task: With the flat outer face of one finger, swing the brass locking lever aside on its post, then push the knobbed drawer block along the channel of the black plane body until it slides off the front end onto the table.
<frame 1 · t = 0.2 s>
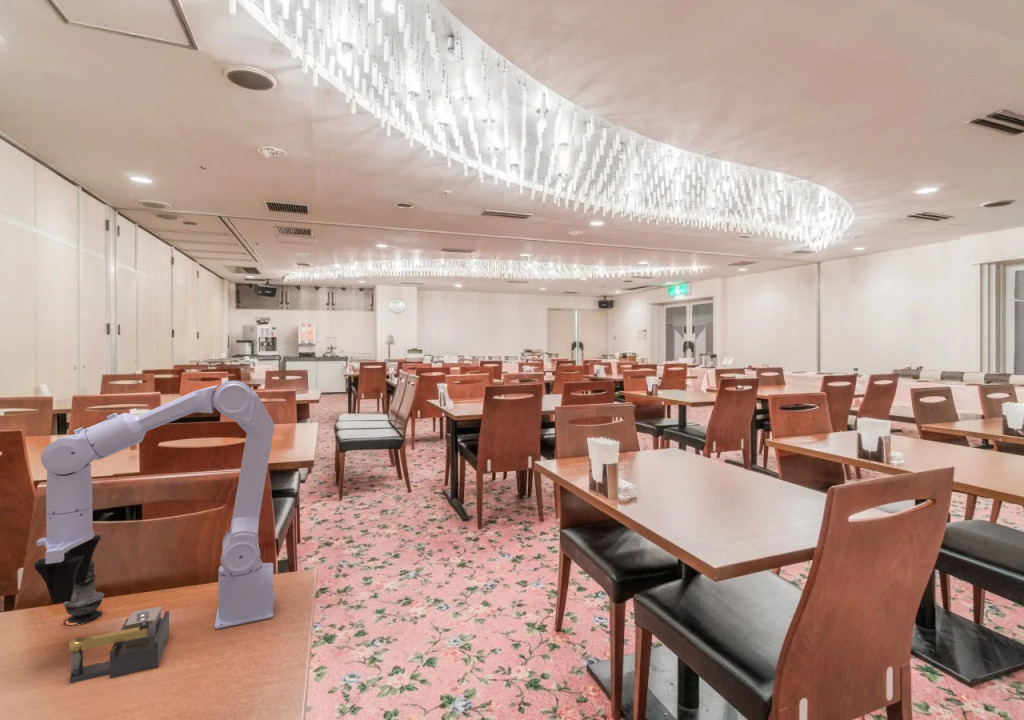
hand: (70, 591, 83), 10 cm above the table, fingers open, 7 cm apart
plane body: (141, 654, 82), on the table
lever: (110, 635, 78), point 5 cm above the table, hinge at 0.0°
salt shaker: (84, 619, 94), on the table
knobbed drawer block: (143, 631, 83), point 3 cm above the table, touching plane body
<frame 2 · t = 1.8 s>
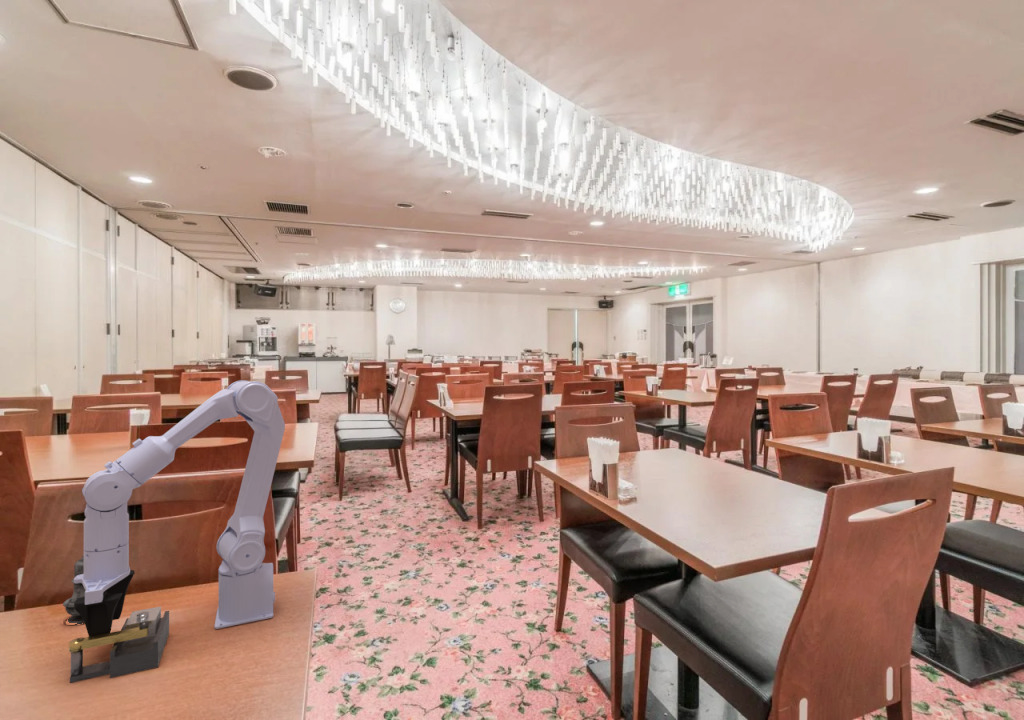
hand: (106, 629, 81), 4 cm above the table, fingers open, 7 cm apart
lever: (110, 635, 78), point 5 cm above the table, hinge at 0.0°, touching gripper
everything else where it was.
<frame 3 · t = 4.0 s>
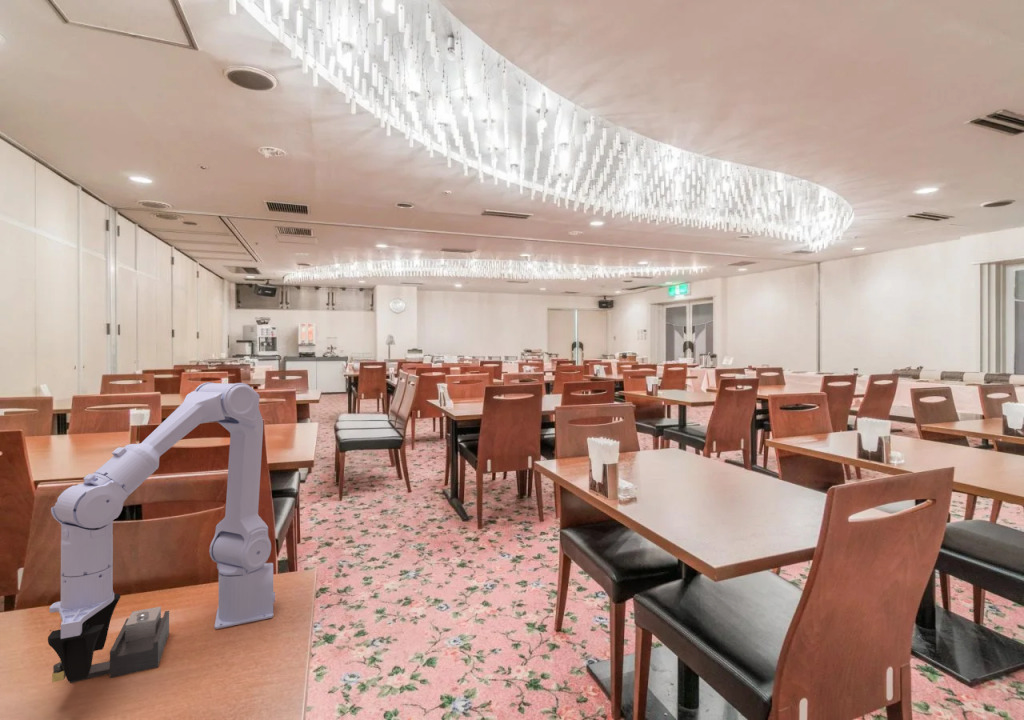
hand: (86, 663, 72), 4 cm above the table, fingers open, 7 cm apart
lever: (68, 655, 72), point 5 cm above the table, hinge at -88.6°
everything else where it was.
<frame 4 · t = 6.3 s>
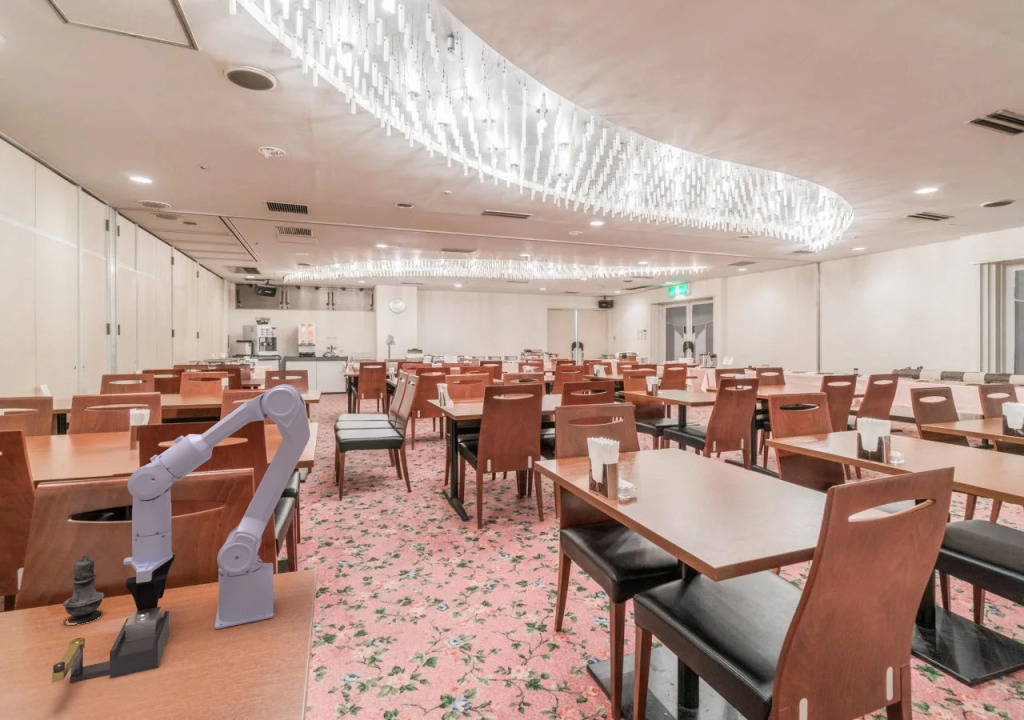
hand: (151, 607, 90), 4 cm above the table, fingers open, 7 cm apart
knobbed drawer block: (143, 631, 83), point 3 cm above the table, touching gripper
everything else where it was.
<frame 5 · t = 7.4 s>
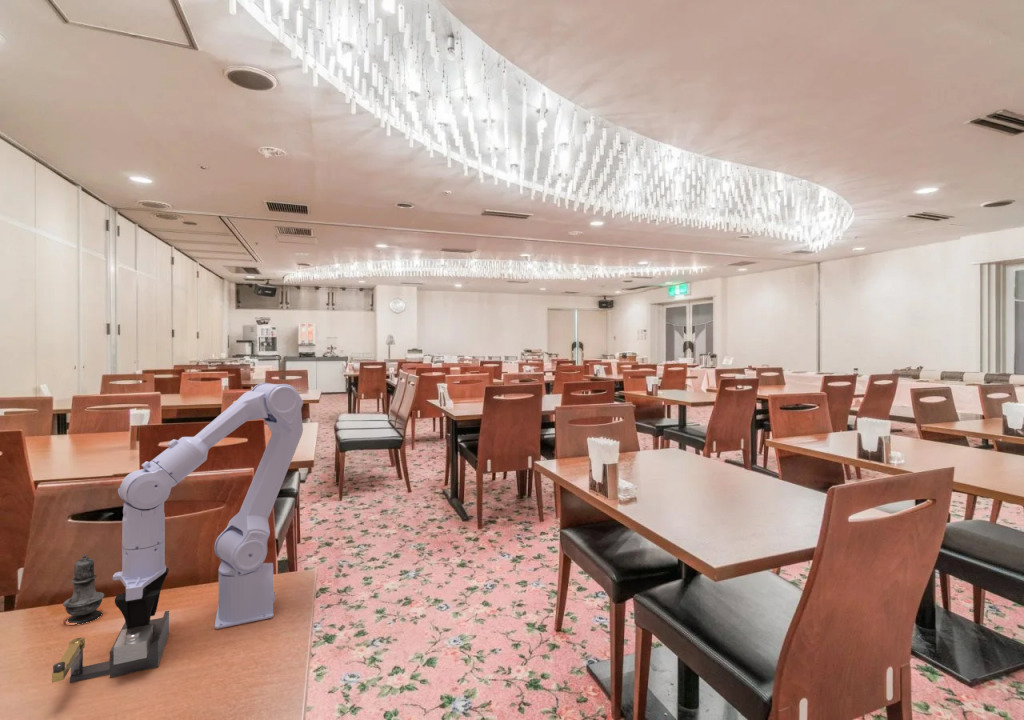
hand: (143, 625, 83), 4 cm above the table, fingers open, 6 cm apart
knobbed drawer block: (134, 651, 77), point 3 cm above the table, touching gripper, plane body
everything else where it was.
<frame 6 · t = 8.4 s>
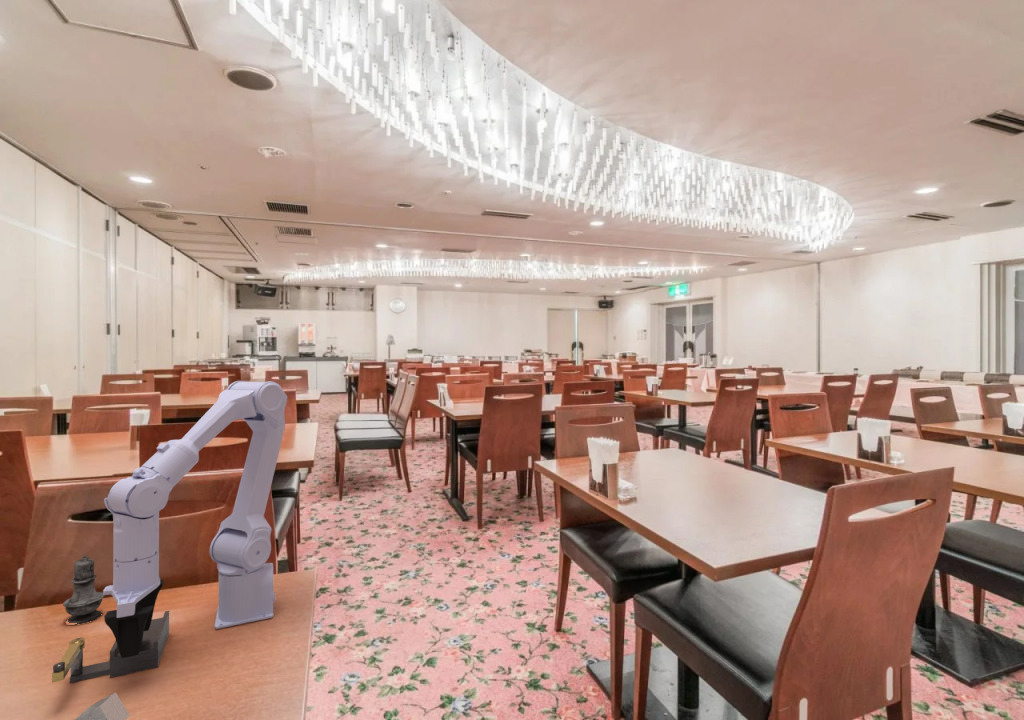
hand: (136, 642, 78), 4 cm above the table, fingers open, 7 cm apart
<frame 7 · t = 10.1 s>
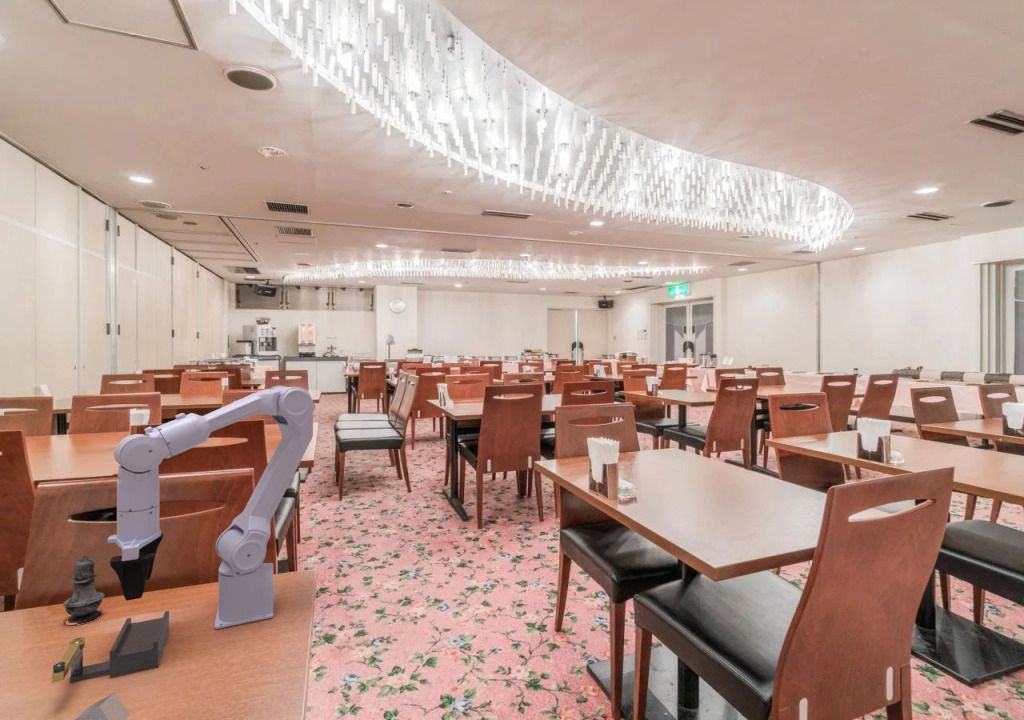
hand: (138, 589, 84), 10 cm above the table, fingers open, 7 cm apart
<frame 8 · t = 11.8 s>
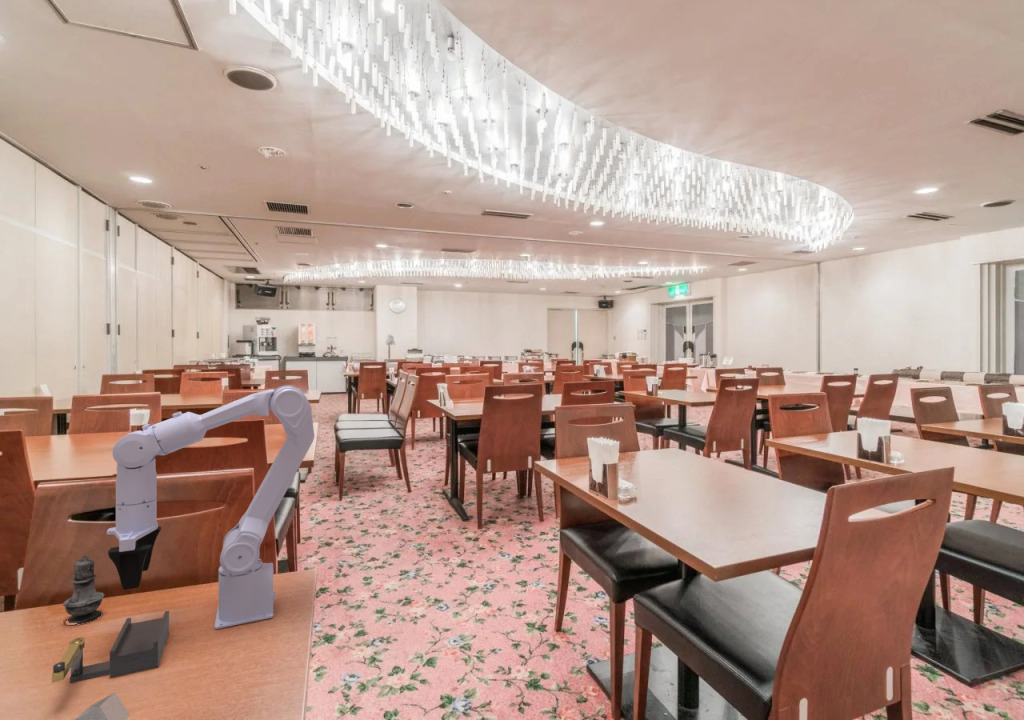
hand: (136, 579, 87), 10 cm above the table, fingers open, 7 cm apart
at the end: lever at -89° (first picture: +0°); knobbed drawer block inside the target area (5.8 cm from its centre), on the table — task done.
